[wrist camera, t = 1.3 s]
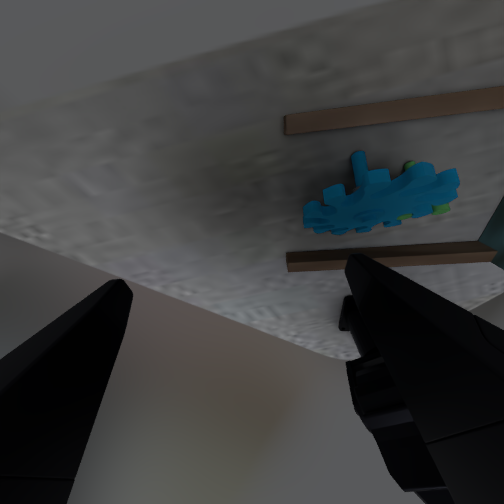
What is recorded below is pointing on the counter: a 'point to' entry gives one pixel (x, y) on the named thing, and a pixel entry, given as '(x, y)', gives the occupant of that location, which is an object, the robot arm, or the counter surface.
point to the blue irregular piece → (382, 198)
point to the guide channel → (500, 226)
